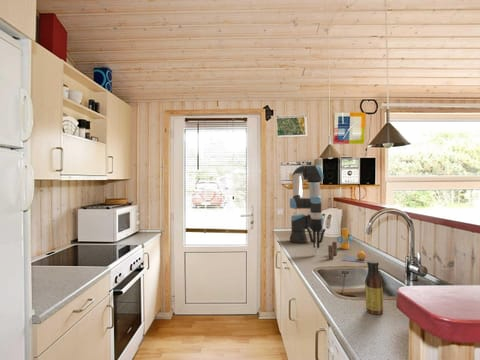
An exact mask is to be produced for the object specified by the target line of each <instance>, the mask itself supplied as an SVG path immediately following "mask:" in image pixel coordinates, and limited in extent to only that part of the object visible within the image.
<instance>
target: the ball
mask: <svg viewBox="0 0 480 360" xmlns="http://www.w3.org/2000/svg"><path fill="white" fill-rule="evenodd" d="M356 256H357V257H358V259H360V260H364V259H365V258H366V257H367V254H366V253H365V252H364V251H358V252H357V253H356Z"/></svg>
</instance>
